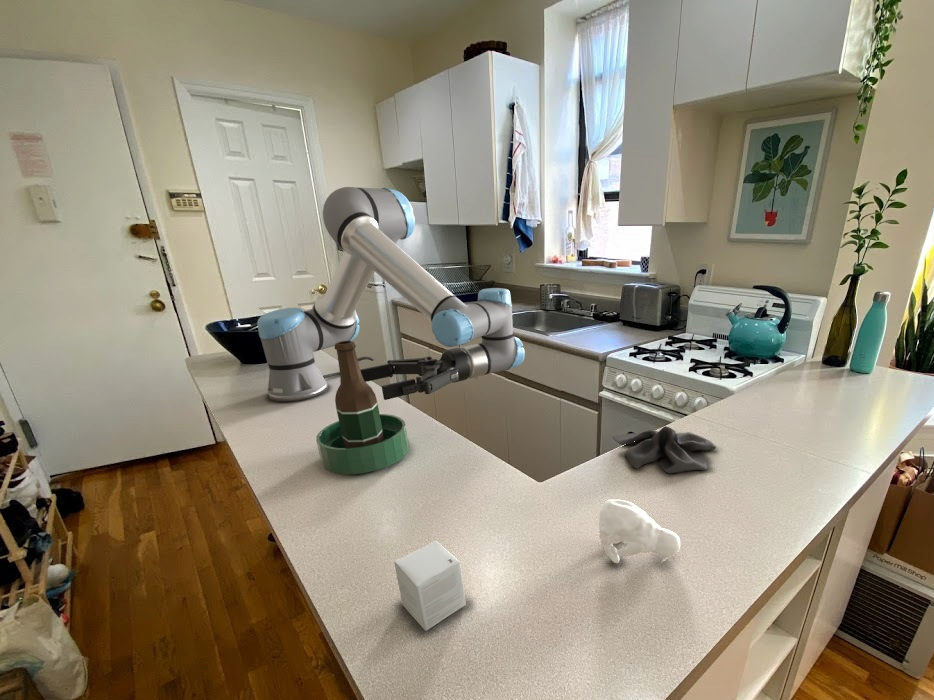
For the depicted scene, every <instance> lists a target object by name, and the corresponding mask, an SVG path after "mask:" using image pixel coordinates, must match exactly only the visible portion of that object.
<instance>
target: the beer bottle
mask: <svg viewBox="0 0 934 700" xmlns="http://www.w3.org/2000/svg"><path fill="white" fill-rule="evenodd" d="M356 347H357V346H356V344H355V341H353V340H352V341H341V342H338V343H336V344H335V346H334V350H336V355H337V361H338V368H339V372H340V375H339V376H340V378H339V379H340V384H339V386H338V388H337V390H336V392H335V398H334V403H335V408H336V414H337V418H338V421H339V423H340V428H341V432H342V437H343V441H344V446H345V448H357V447H363V446H369V445H373V444H376V443H379V442H382V441H384V436H383V430H382V425H381V419H380V414H381V413H380V408H379V404H378V399H377V396H376V393H375V391H374V390H373V389H372V387H371V386H370V385H369V383H368V382H365V381H364V379H363V377H362V374H361V371H360V370H361V368H360V364H359V361H358V360H357V359H358V355H357V352H356Z"/></svg>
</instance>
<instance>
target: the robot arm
mask: <svg viewBox="0 0 934 700" xmlns="http://www.w3.org/2000/svg"><path fill="white" fill-rule="evenodd" d="M415 217H416V216H415V215H414V209H413V207H412V205H411V202H410V201H409V199H408V198H407V197H406V196H405V195H404V194H403V192H401V191H398V190H397V189H391V188H387V187H382V188H376V187H355V186H344V187H340V188H337V189H335V190H334V191H332V192H331V193H330V194H329V195H328V196H327V198H326V199H325V201H324V204H323V206H322V220H323V224H324V227H325V229H326V231H327V233H328V235H329V236H330V238H331V239H332V240H333V241H334V242H335V244H337V246H339V247H340V248H341V249H342V250H343V253H342V255H341V258H340V260H339V262H338V264H337V266H336V269H335V271H334V273H333V275H332V278H331V280H330V282H329V284H328V287H327V289H326V291H325V294H322V295H320V296H318V297H317V298H316V299H315V301H314V304H313V306H312V308H311V309H309V310H303V309H302V308H300V307H286V308H283V309H282V308H279V309H277V310H276V309H275V310H273V311H269V312H267V313H264V314H263V315H261V316H260V317H259V318H258V319H257V322H256V323H257V330H258V336H259V338H260V342H261V344H262V348H263V352H264V356H265V358H266V362H267V366H268V370H269V375H268V383H267V385H268V386H267V394H268V397H269V399H270V400H271V401H274V402H280V403H281V402H282V403H289V402H297V401H305V400H309V399H312V398H315V397H318V396H320V395H322V394H325V393H326V392H327V390H328V389H329V387H328V381H327V380H326V379H328V378H332V377H338V376H340V371H338V372H337V371H336V372H333V373H328V374H324V375H323V373H322V372H321V370H320V368H319V367H318V366H317V364H316V360H315V356H314V355H315V354H314V353H315V352H318V351H323V350H325V349H329V348H333V347H335V344H336V343H338V342H341V341H352V342H353V340H355V339H356V338H357V337H358V335H359V332H360V326H361V325H359V323H360V319H359V316H358V313H357V311H356V309H357V306H358V305H359V303H360V301H361V299H362V297H363V295H364V294H365V291H366V289H367V288H368V285H369V283H370V282H371V280H372V278H373V275H374V273H376V274H377V275H378V276H379V277H380V278H382V279H383V280H384V281H385V282H386V283H387V284H388V285H390V287H392V289H394V290H395V291H396V292H397V293H399V294H400V295H401V296H402V297H403V299H405V301H407V302H408V303H410V304H411V305H412V306H413V307H414V308H416V309H417V311H419V312H420V313H421V314H422V315H423V316H425V317H426V318H427V319H428V320H429V321H430V322H431V331H432V334H433V335H434V337H435V340H436V341H437V342H438V343H439V344H441V345H442V346H444V347H448V348H450V349H445V350H444V351H443V352H442V354H441V357H440V359H437V358H432V356H424V357H417V358H416V357H415V358H404V359H403V358H402V359H389V360H387V361H386V362H387V363H385V364H381V365H380V364H379V365H376V366H370V367H365V368H362V369H361V368H360V371H361V374H362V377H363V379H364V381H365V382H366V383H368V382H371V381H376V380H381V379H385V378H393V377H394V375H417V376H415V378H411V379H406V380H402V381H397V382H393V383H389V384H385V385H381V391H382V397H383V400H384V401H387V400H388V401H389V400H392V399H396V398H400V397H405V396H408V395H411V394H412V395H413V394H416V393H421V394H422V393H424V394H425V395H430V394H432V393H434V392H436V391H438V390H440V389H442V388H444V387H446V386H448V385H449V384H452V383H459V382H463V381H467V380H468V379H469V380H470V379H474V380H477V379H478V378H479V377H481V376H482V377H483V376H485V375H490V374H495V373H498V372H505V371H508V370H511V369H514V368H517V367H519V366H521V365H522V364H523V363H524V360H525V358H526V351H525V350H526V349H525V348H524V344H523V342H522V340H521V339H520V338H519V337H516V336H514V324H513V305H512V297H511V292H510V290H509V289H507V288H502V287H490V288H489V287H488V288H483V289H480V290H479V291H478V294H477V301H476V302H472V303H467V304H466V303H464V302H463V301H462V300H461V299H459V298H458V297H457V296H456V295H455V294H453V293H452V292H451V291H450V290H449V289H447V287H446V286H444V285H443V284H442V283H441V282H440V281H438V279H436V278H435V277H434V276H433V275H432V274H431V273H429V271H427V270H426V269H425V268H423V267H422V266H421V265H420V264H419V263H418V262H417V261H415V260H414V259H413V258H412V257H411V256H410V255H409V254H408V253H406V252H405V251H404V250H403V249H402V248H401V247H399V245H397V243H398V241H400V240H401V241H402V240H406V239H408V238H410V237H411V236H412V234H413V233H414V231H415V225H416V224H415V223H416V219H415ZM479 338H481V342H480V343H474V344H473V343H472V344H469V345H466V344H468V343H470V342H471V341H474V340H477V339H479ZM463 345H464V346H463ZM457 346H460V347H457ZM453 347H454V348H453ZM357 360H358V362H361V361H364V360H369V361H370V362H374V361H375V359H374V358H373V357H371V356H361V357H357Z"/></svg>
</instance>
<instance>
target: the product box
mask: <svg viewBox="0 0 934 700" xmlns="http://www.w3.org/2000/svg"><path fill="white" fill-rule="evenodd" d="M393 563H394V564H393V565H394V568H395V574H396V580H397V584H398V591H399V596H400V599H401V605H402V606H403V607H404V608H405V609H406V611H407V612H408V613H409V614H410V615H411V616H412V618H413V619H414V620H415V621H416V622H417V623H418V625H420V627H421V628H422V629H423V630H424V631H425V632H427V631H429V630H430V629H431V628H433V627H434V626H436V625H437V624H439V623H441V622H442V621H443V620H445V619H447V618H448V617H449V616H451V615H453V614H454V613H455V612H457V611H459V610H460V609H462V608H463V607H465V606H466V605H467V602H466V596H465V589H464V582H463V572H462V565H461V561H460V560H458V558H457V557H456V556H454V555H453V554H452V553H451V552H449V550H447V549H446V548H445V547H444V546H443V545H442V544H441V543H439V542H438V541H437V540H433V541H431V542H429V543H428V544H425V545H423V546H422V547H420V548H418V549H416V550H414V551H412V552H410V553H408V554H405V555H404V556H402V557H400V558H398V559H396V560H394V561H393Z"/></svg>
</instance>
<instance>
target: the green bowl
mask: <svg viewBox="0 0 934 700" xmlns="http://www.w3.org/2000/svg"><path fill="white" fill-rule="evenodd" d="M379 414H380V419H381V425H382V430H383V436H384V441H382V442H379V443H376V444H373V445H369V446H363V447H357V448H345V446H344V441H343V437H342V432H341V428H340V423H339V420H338V421H335V422H333V423H331V424H328V425H326V426H325V427H324V428H322V429H321V430H320V431H319V432H318V433H317V434H316V437H315V438H316V439H315V441H316V445H317V449H318V454H319V458H320V462H321V465H322V467H323V468H324V469H325V470H327V471H329V472H331V473H336V474H341V475H357V474H366V473H370V472H375V471H378V470H382V469H385V468H387V467H390V466H391V465H394V464H396V463H398V462H399V461H400V460H402V459H403V458H405V456H406V455H407V453H408V452H409V449H410V444H409V438H408V437H409V436H408V431H407V426H406V425H407V424H406V422H405V420H404V419H402V418H401V417H399V416H398V415H397V416H396V415H394V414H388V413H379Z"/></svg>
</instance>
